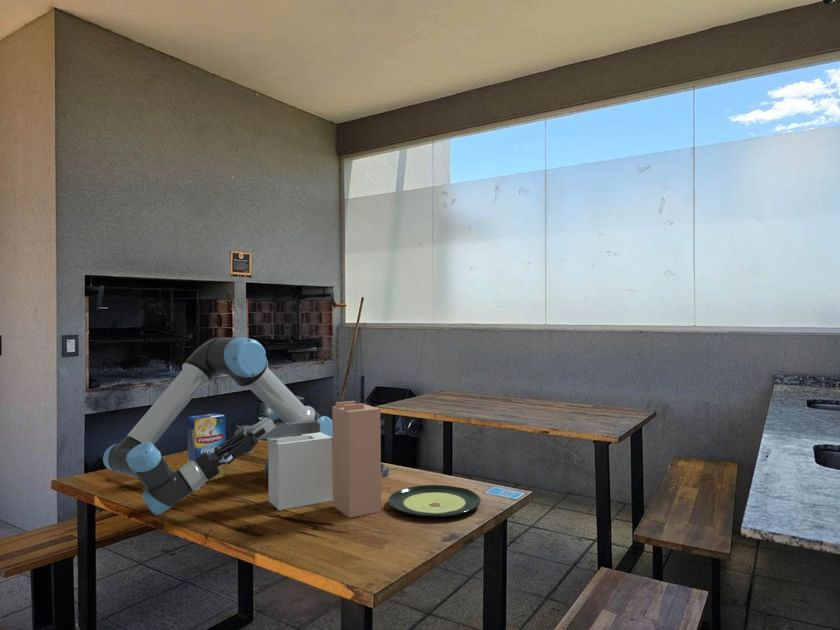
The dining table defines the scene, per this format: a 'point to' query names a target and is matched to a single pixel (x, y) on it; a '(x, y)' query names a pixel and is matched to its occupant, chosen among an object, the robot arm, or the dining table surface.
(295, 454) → the rest
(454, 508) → the plate
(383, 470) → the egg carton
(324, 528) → the dining table surface
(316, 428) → the t bar
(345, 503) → the stand
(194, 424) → the beverage box
